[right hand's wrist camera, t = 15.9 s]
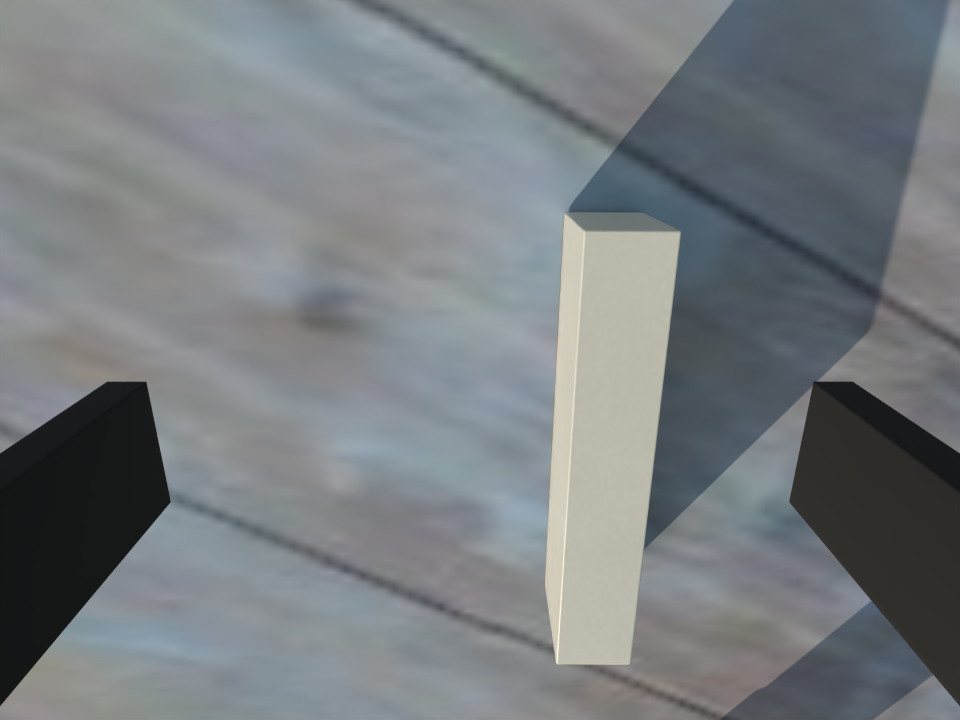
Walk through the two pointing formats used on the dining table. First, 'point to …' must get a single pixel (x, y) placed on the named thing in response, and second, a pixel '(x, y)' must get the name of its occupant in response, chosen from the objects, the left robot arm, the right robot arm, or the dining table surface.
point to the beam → (606, 426)
